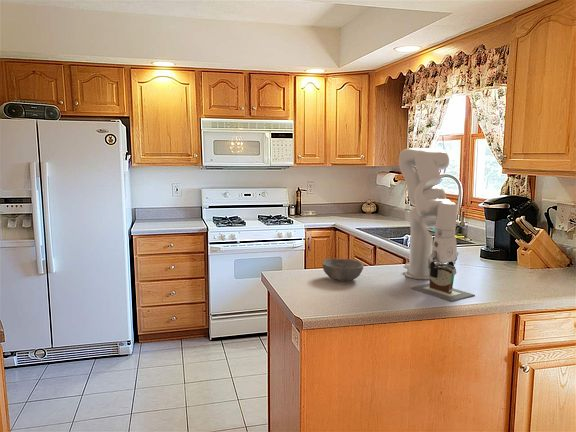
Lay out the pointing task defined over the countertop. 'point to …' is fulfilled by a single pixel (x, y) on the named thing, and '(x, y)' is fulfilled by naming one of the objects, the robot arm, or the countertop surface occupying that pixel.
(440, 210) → the robot arm
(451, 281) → the food container
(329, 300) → the countertop surface
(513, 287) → the countertop surface
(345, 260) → the bowl
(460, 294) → the mat
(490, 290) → the countertop surface
